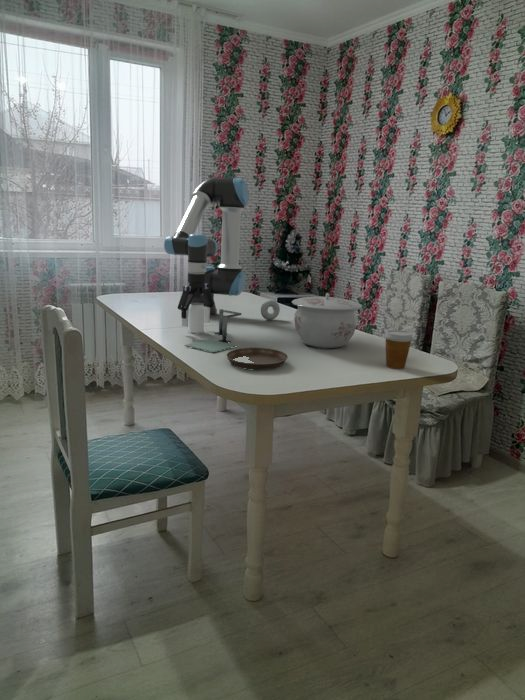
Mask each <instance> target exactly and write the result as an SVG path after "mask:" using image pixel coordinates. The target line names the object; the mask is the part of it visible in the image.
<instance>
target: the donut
mask: <svg viewBox="0 0 525 700" xmlns="http://www.w3.org/2000/svg"><path fill="white" fill-rule="evenodd" d="M270 307H271V308H272V311H271V312H270V313H269V311H268V309H269V308H270ZM280 307H281V306H280V304H279V303H278V302H277V301H276V300H274V299H267V300H265V301H264V302H263V303H262V304H261V306H260V314H261V316H262V318H263V319H264V320H267V321H272V320H275V319H276V318H277V317H278V316H279V314H280V310H281V309H280Z"/></svg>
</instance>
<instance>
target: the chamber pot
mask: <svg viewBox="0 0 525 700" xmlns="http://www.w3.org/2000/svg"><path fill="white" fill-rule="evenodd" d="M291 303H292V304H293V305H294V306H297V310H296V311H295V313H294V316H293V317H294V319H293V321H294V325H295V326H294V328H295V332H296V333H297V335H298V336H299V338H300V340H301V341H302V343H304V344H305V345H307V346H309V347H313V348H317V349H323V350H324V349H325V350H326V349H329V350H330V349H337V348H341V347H344V346H345V345H347V344H348V342H349V341H350V340H351V339H352V337H353V336H354V334H355V331H356V328H357V324H358V315H357V314H356V311H357V310H360V309H361V308H362V307H363V305H362V304H360V303H358V302H357V301H354V300H350V299H346V298H341V297H332V296H330V293H329V292H326V293H325V296H305V297H298V298H295V299H293V300H292V301H291Z"/></svg>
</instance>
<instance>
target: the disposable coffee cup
mask: <svg viewBox="0 0 525 700" xmlns="http://www.w3.org/2000/svg"><path fill="white" fill-rule="evenodd" d="M384 338H385V366H386V367H387V368H390V369H393V370H395V369H396V370H403V369H405V367H406V363H407V360H408V355H409V351H410V347H411V344H412V341H413V339H414V337H413V333H411V332H410V331H406V330H400V329H399V330H398V329H392V330H389V329H388V330H387V331H385V334H384Z"/></svg>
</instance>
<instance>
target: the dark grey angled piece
mask: <svg viewBox="0 0 525 700" xmlns="http://www.w3.org/2000/svg"><path fill="white" fill-rule="evenodd" d="M224 313H226V314H227V313H228V314H229V315H224ZM218 314H219V316H218V332H214V335H215V334H218V335H217V336H220V335H222V336H221V337H222V339H220V340H218V341H220V342H225V343H228V342H230V343H232V340H229V339H227V337H228V332H227V331H228V329H227V328H228V319H229V318H234V317H238V316H242V312H237V311H233V310H232V311H231V310H225V309H222V308H221V309H219V313H218Z"/></svg>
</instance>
